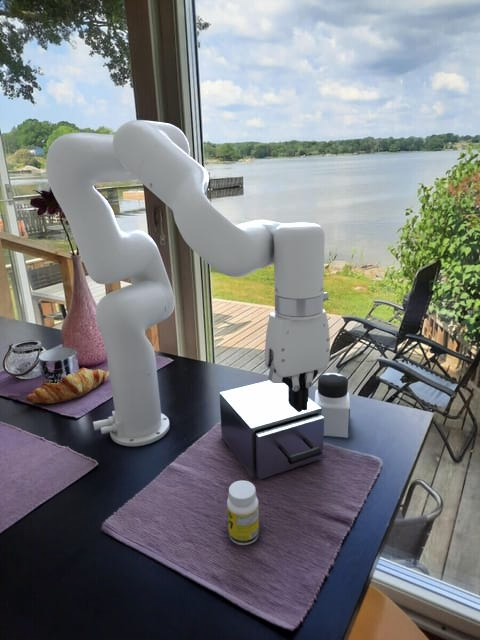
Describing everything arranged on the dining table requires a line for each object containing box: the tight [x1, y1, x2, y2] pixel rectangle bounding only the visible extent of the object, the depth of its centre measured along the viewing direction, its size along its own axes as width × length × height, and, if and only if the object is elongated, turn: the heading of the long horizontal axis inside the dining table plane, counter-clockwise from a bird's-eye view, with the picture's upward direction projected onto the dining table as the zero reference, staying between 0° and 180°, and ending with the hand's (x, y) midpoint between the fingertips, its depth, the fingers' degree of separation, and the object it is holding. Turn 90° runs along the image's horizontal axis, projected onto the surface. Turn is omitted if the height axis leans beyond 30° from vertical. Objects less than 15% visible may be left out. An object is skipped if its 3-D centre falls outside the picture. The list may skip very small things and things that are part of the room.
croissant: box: [25, 366, 110, 405], centre depth 112 cm, size 21×10×8 cm, turn 134°
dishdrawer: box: [219, 380, 322, 480], centre depth 87 cm, size 15×15×11 cm
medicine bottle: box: [313, 372, 351, 439], centre depth 92 cm, size 7×7×12 cm
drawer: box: [255, 414, 325, 480], centre depth 83 cm, size 18×13×9 cm
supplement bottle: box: [226, 479, 260, 546], centre depth 66 cm, size 5×5×8 cm
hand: (298, 407), depth 75 cm, fingers closed
